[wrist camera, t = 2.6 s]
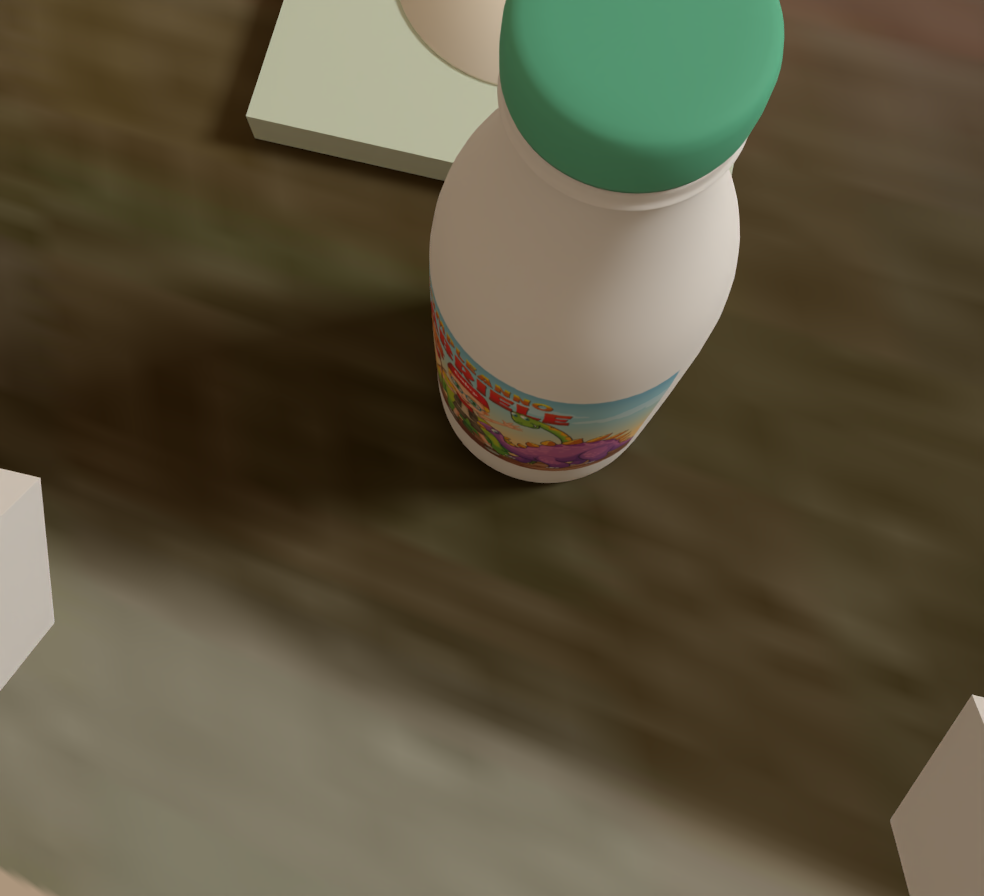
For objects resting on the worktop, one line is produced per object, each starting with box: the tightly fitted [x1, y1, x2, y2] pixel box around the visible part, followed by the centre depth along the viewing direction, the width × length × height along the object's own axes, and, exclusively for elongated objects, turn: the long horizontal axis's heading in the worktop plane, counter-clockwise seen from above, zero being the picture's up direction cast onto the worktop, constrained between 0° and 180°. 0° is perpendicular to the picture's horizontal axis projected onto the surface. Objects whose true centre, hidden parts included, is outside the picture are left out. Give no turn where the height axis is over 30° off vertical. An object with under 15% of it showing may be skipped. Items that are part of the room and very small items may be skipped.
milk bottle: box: [429, 0, 784, 483], centre depth 24 cm, size 8×8×20 cm
